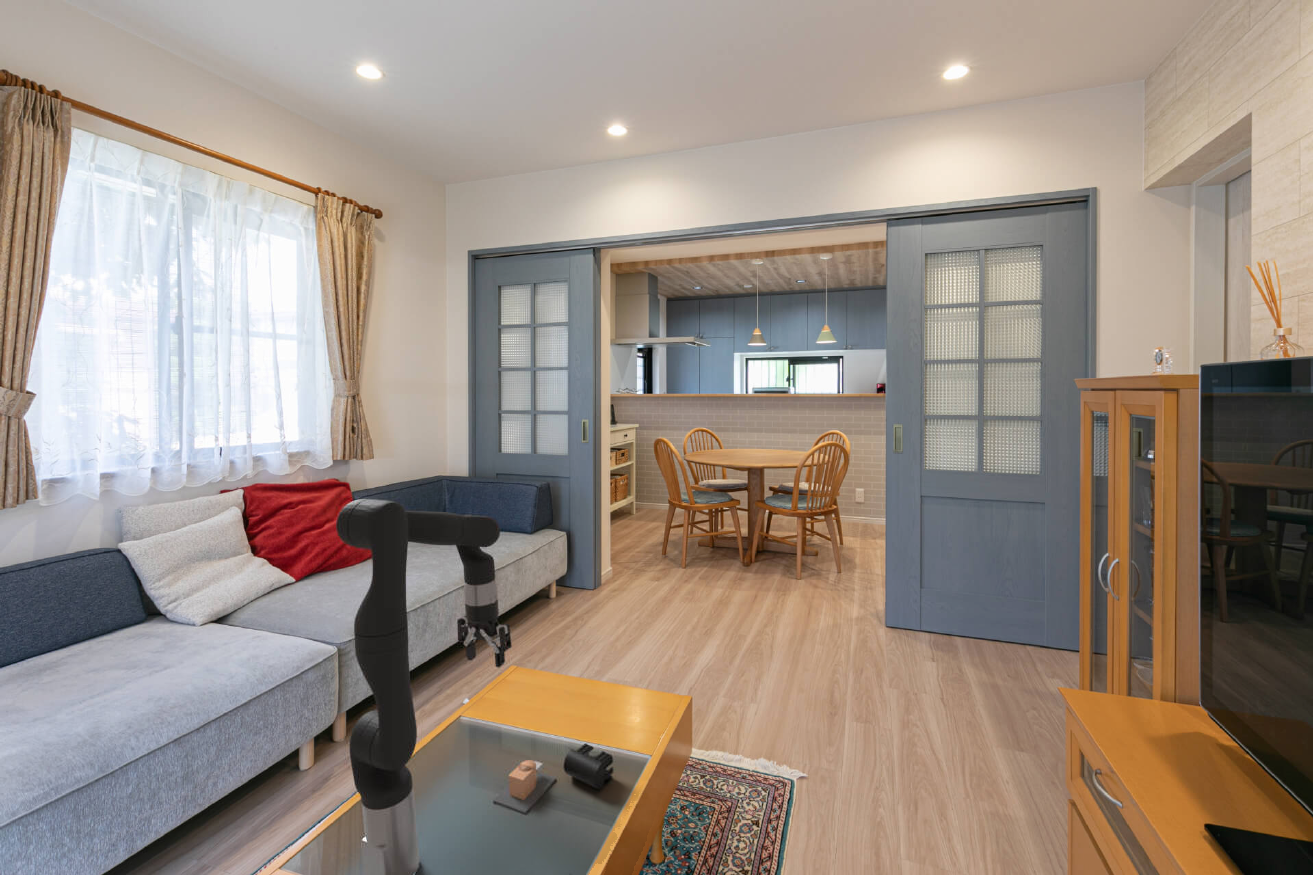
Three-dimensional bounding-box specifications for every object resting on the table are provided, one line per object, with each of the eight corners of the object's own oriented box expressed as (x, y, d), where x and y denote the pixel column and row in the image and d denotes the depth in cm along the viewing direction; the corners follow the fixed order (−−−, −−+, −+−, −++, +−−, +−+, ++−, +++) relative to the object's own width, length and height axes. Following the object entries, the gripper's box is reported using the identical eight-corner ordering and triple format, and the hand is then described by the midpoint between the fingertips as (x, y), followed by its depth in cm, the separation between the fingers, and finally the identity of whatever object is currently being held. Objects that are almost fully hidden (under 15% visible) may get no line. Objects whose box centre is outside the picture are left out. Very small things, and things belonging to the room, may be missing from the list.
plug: (523, 799, 141) (522, 780, 140) (509, 795, 143) (508, 775, 142) (546, 775, 149) (545, 756, 148) (532, 771, 151) (531, 752, 150)
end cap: (563, 781, 148) (562, 755, 147) (583, 764, 154) (582, 739, 153) (595, 797, 142) (594, 770, 141) (615, 779, 148) (614, 753, 147)
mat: (525, 813, 138) (525, 811, 138) (493, 802, 141) (493, 800, 141) (556, 779, 148) (555, 777, 148) (525, 769, 152) (525, 767, 152)
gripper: (446, 599, 146) (451, 664, 148) (494, 608, 140) (499, 675, 142) (468, 588, 153) (473, 649, 155) (515, 596, 147) (519, 660, 149)
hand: (485, 662), depth 149 cm, fingers open, 8 cm apart
